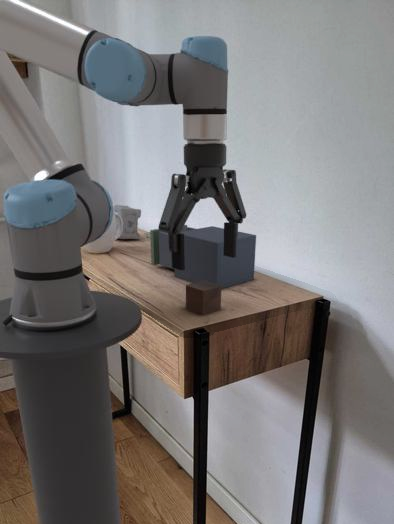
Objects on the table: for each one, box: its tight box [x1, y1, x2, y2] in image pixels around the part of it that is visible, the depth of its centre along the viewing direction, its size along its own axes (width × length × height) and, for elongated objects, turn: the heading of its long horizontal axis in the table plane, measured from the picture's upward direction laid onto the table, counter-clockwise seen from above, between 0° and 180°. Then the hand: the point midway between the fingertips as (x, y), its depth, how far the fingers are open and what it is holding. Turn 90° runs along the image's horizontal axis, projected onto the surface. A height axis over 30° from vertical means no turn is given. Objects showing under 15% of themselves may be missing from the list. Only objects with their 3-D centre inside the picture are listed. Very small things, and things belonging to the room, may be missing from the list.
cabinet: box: [174, 225, 257, 290], centre depth 115 cm, size 15×13×11 cm
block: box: [185, 280, 222, 316], centre depth 96 cm, size 5×5×5 cm
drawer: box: [143, 224, 196, 270], centre depth 124 cm, size 19×11×9 cm, turn 42°
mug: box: [83, 203, 123, 255], centre depth 140 cm, size 15×11×13 cm
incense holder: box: [114, 204, 142, 240], centre depth 156 cm, size 10×8×10 cm
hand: (205, 262), depth 93 cm, fingers open, 13 cm apart
